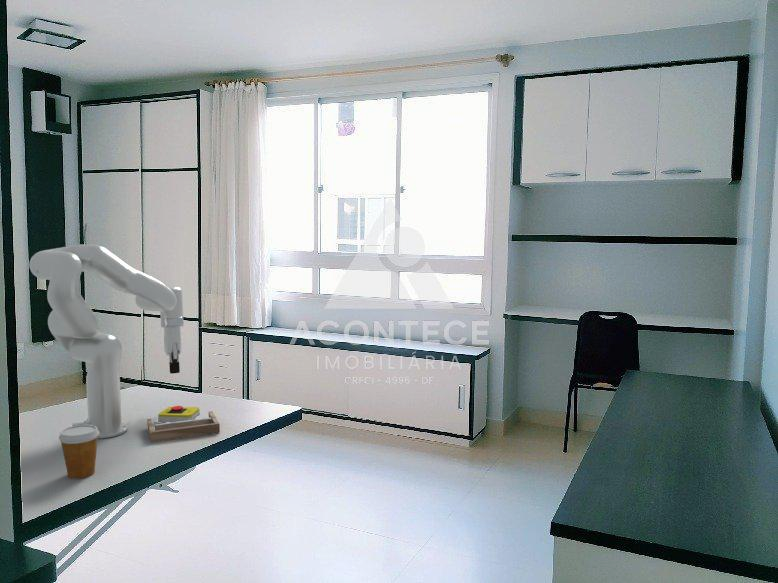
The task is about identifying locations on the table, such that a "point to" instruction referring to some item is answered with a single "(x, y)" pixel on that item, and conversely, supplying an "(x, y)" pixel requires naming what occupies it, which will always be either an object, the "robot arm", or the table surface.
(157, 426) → the catch plate
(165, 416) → the emergency button
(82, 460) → the disposable coffee cup
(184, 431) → the dock
